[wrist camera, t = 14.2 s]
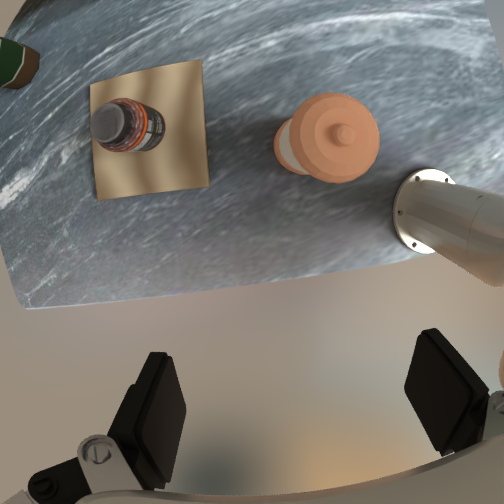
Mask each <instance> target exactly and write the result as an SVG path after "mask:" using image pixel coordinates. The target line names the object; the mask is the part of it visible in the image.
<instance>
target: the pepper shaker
mask: <svg viewBox="0 0 504 504" xmlns="http://www.w3.org/2000/svg"><path fill="white" fill-rule="evenodd" d="M379 136H380V135H379V131H378V128H377V124H376V121H375V120H374V118H373V116H372V115H371V113H370V111H369V110H368V109H367V108H366V107H365V106H364V105H362V104H361V103H360V102H359V101H358V100H356V99H354V98H352V97H349V96H347V95H344V94H337V93H324V94H319V95H315V96H313V97H311V98H310V99H308V100H306V101H305V102H303V103H302V104H301V106H300V107H299V108H298V109H297V110H296V112H295V113H294V115H293V117H292V118H290V119H289V120H287V121H286V122H284V124H283V125H282V126H281V127H280V128H279V130H278V131H277V132H276V135H275V138H274V152H275V155H276V158H277V159H278V161H279V162H280V164H281V165H282V166H284V167H285V168H286V169H287V170H289V171H292V172H295V173H298V174H302V175H312V176H313V177H315V178H317V179H320V180H322V181H325V182H330V183H344V182H347V181H351V180H354V179H356V178H357V177H359V176H360V175H362V174H364V173H365V172H366V171H367V170H368V169H369V168H370V166H371V165H372V164H373V163H374V161H375V159H376V156H377V153H378V150H379Z"/></svg>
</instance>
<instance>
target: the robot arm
mask: <svg viewBox="0 0 504 504" xmlns="http://www.w3.org/2000/svg"><path fill="white" fill-rule="evenodd" d="M398 211H399V212H398ZM393 222H394V226H395V230H396V232H397V234H398V236H399V238H400V239H401V241H402V242H403V243H404V244H405V245H406V246H407V247H409V248H410V249H412V250H414V251H416V252H418V253H433V252H437V253H439V254H441V255H442V256H444V257H445V258H447V259H449V260H450V261H452V262H453V263H455V264H457V265H458V266H460V267H462V268H463V269H464V270H466V271H467V272H469V273H471V274H472V275H474V276H475V277H477V278H478V279H480V280H481V281H483V282H484V283H486V284H488V285H490V286H494V287H504V195H500V194H496V193H492V192H488V191H484V190H480V189H476V188H471V187H467V186H462V185H457V184H455V183H454V181H453V180H452V179H451V178H450V177H449V176H448V175H447V174H445V173H444V172H442V171H440V170H436V169H428V168H425V169H420V170H418V171H415V172H413V173H412V174H411V175H409V176H408V177H407V178H406V179H405V180H404V181H403V182H402V184H401V186H400V187H399V189H398V191H397V194H396V196H395V200H394V204H393ZM412 243H413V244H412ZM499 380H500V383H501V385H502V388H503V389H504V350H503V353H502V356H501V359H500V364H499ZM404 390H405V393H406V395H407V397H408V399H409V401H410V403H411V404H412V406H413V408H414V410H415V412H416V414H417V416H418V417H419V419H420V421H421V423H422V425H423V427H424V429H425V431H426V433H427V435H428V437H429V439H430V441H431V443H432V445H433V447H434V448H435V450H436V451H439V452H440V454H441V456H442V457H443V456H445V455H448V454H450V453H453V452H455V453H454V454H451V455H449V456H446V457H444V458H441V459H439V460H436V461H434V462H431V463H428V464H425V465H422V466H419V467H416V468H414V469H410V470H407V471H404V472H400V473H397V474H393V475H390V476H386V477H382V478H379V479H375V480H371V481H366V482H362V483H357V484H353V485H348V486H342V487H337V488H331V489H324V490H317V491H310V492H301V493H291V494H280V495H263V496H216V495H215V496H214V495H195V494H183V493H172V492H160V491H154V489H155V488H159V489H164V488H165V484H166V482H168V483H169V482H170V481H171V477H172V473H173V468H174V464H175V459H176V455H177V450H178V446H179V441H180V437H181V433H182V429H183V424H184V420H185V415H186V404H185V401H184V398H183V395H182V391H181V388H180V384H179V381H178V377H177V374H176V370H175V366H174V363H173V359H172V357H171V356H168V355H167V353H165V352H150V354H149V356H148V358H147V360H146V362H145V364H144V366H143V368H142V370H141V373H140V374H139V377H138V379H137V381H136V383H135V384H132V385H131V386H130V387H129V389H128V391H127V393H126V395H125V397H124V399H123V401H122V403H121V405H120V407H119V410H118V412H117V414H116V416H115V418H114V420H113V423H112V425H111V427H110V429H109V431H108V434H107V436H105V435H93V436H90V437H88V438H86V439H84V441H82V442H81V443H80V445H79V447H78V450H77V455H78V457H75V458H73V459H71V460H68V461H66V462H63V463H61V464H58V465H56V466H53V467H50V468H48V469H45V470H42V471H40V472H37V473H35V474H34V475H33V476H32V477H31V478H30V480H29V482H28V490H27V491H26V492H25V491H24V490H21V491H19V492H18V493H17V494H15V495H14V496H12V497H11V498H10V499H8V500H7V501H5V502H4V503H2V504H504V391H496V392H494V393H492V394H491V396H490V395H489V394H488V391H489V389H488V387H487V386H486V385H485V383H484V382H483V381H482V380H481V379H480V377H479V376H478V375H477V374H476V373H475V371H474V370H473V369H472V368H471V367H470V366H469V364H468V363H467V362H466V361H465V360H464V358H463V357H462V356H461V355H460V354H459V353H458V351H456V349H455V348H454V347H453V346H452V345H451V344H450V342H449V341H448V340H447V339H446V338H445V337H444V336H443V335H442V334H441V332H440V331H439V330H437V329H436V328H432V329H427V330H423V331H422V332H421V334H420V335H419V336H418V337H417V341H416V345H415V349H414V354H413V357H412V361H411V364H410V368H409V371H408V375H407V379H406V382H405V385H404Z"/></svg>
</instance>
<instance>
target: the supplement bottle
mask: <svg viewBox="0 0 504 504" xmlns="http://www.w3.org/2000/svg"><path fill="white" fill-rule="evenodd" d="M89 129H90V133H91V135H92V137H93V138H94V139H95V140H97V141H98V143H99V144H100V145H101V147H103V148H104V149H106V150H108V151H111V152H144V151H149V150H152V149H153V148H155V147H156V146H157V145H158V144H159V143H160V142H161V141H162V139H163V137H164V134H165V130H166V125H165V120H164V118H163V116H162V115H161V113H160V112H158V111H157V110H155V109H154V108H152V107H149V106H147V105H144V104H142V103H140V102H137V101H135V100H132V99H129V98H117V99H114V100H112V101H110V102H108V103H105V104H103V105H101V106H99V107H98V108H97V109H96V110H95V111H94V112H93V114H92V116H91V118H90V123H89Z"/></svg>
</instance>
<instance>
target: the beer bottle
mask: <svg viewBox="0 0 504 504" xmlns="http://www.w3.org/2000/svg"><path fill="white" fill-rule="evenodd" d="M39 57H40V54H39V53H38V52H36V51H35V50H33V49H32V48H30V47H28V46H26V45H23V44H20V43H17V42H14V41H12V40H9V39H6V38H3V37H0V87H4V88H10V89H19V88H21V87H23V86H25V85H27V84H28V83H30V82H31V80H32V78H33V77H34V75H35V74H36V72H37V70H38V69H39Z"/></svg>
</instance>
